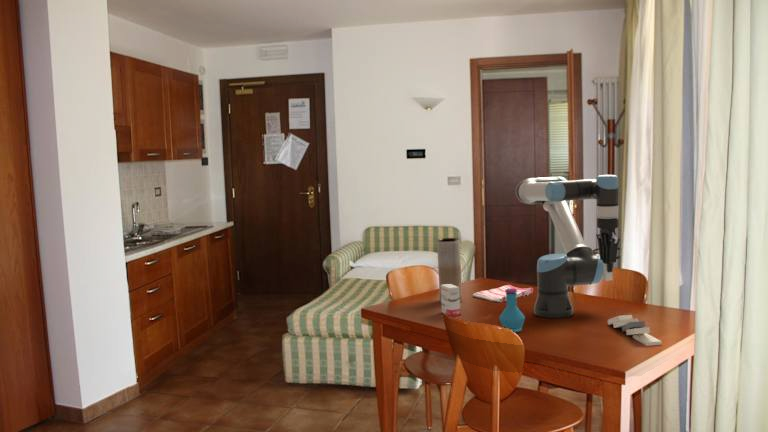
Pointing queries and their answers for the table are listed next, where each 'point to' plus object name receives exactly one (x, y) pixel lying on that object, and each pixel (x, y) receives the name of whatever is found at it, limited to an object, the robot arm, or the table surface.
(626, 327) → the domino
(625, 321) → the domino
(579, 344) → the table surface
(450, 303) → the ink box
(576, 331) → the table surface
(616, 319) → the domino head
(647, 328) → the domino
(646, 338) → the domino tail
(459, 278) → the vase
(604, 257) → the robot arm
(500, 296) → the dish towel
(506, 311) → the perfume bottle
